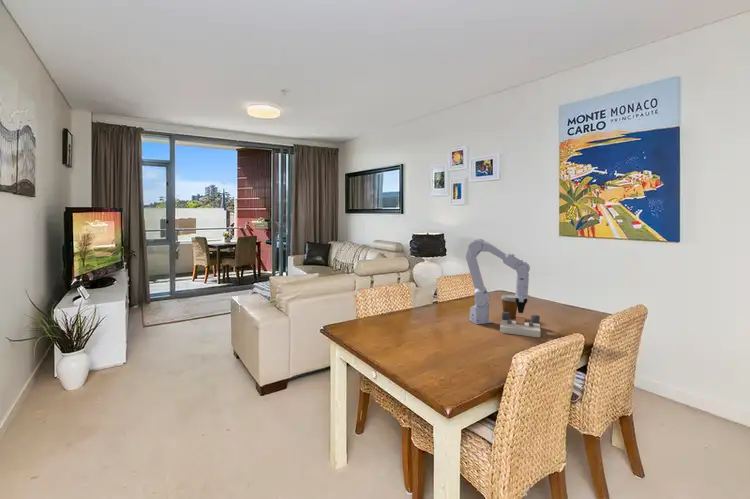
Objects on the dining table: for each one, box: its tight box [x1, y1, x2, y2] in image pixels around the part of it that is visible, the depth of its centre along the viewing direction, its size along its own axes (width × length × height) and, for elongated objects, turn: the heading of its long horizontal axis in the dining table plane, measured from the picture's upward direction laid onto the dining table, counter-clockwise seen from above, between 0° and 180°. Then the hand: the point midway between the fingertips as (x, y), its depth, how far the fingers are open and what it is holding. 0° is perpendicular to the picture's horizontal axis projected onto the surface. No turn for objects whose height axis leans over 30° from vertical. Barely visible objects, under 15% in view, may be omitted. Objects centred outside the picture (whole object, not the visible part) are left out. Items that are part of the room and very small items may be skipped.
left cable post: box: [501, 311, 511, 320], centre depth 193 cm, size 4×4×6 cm
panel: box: [499, 319, 541, 338], centre depth 182 cm, size 12×18×5 cm, turn 68°
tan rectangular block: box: [515, 314, 526, 325], centre depth 182 cm, size 1×4×4 cm, turn 67°
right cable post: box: [530, 314, 541, 324], centre depth 188 cm, size 4×4×6 cm
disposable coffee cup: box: [500, 293, 518, 320], centre depth 205 cm, size 10×10×12 cm
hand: (520, 312), depth 187 cm, fingers closed
